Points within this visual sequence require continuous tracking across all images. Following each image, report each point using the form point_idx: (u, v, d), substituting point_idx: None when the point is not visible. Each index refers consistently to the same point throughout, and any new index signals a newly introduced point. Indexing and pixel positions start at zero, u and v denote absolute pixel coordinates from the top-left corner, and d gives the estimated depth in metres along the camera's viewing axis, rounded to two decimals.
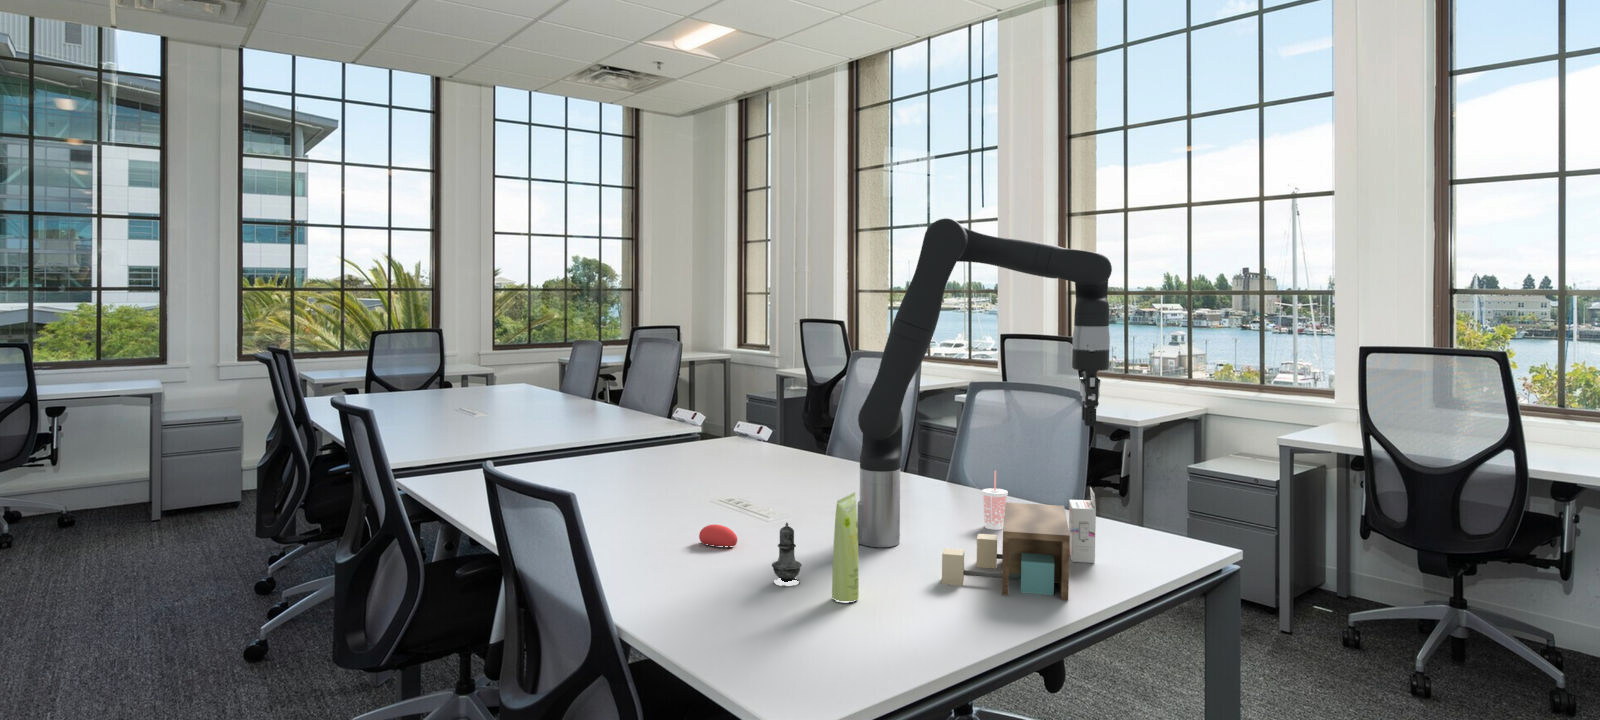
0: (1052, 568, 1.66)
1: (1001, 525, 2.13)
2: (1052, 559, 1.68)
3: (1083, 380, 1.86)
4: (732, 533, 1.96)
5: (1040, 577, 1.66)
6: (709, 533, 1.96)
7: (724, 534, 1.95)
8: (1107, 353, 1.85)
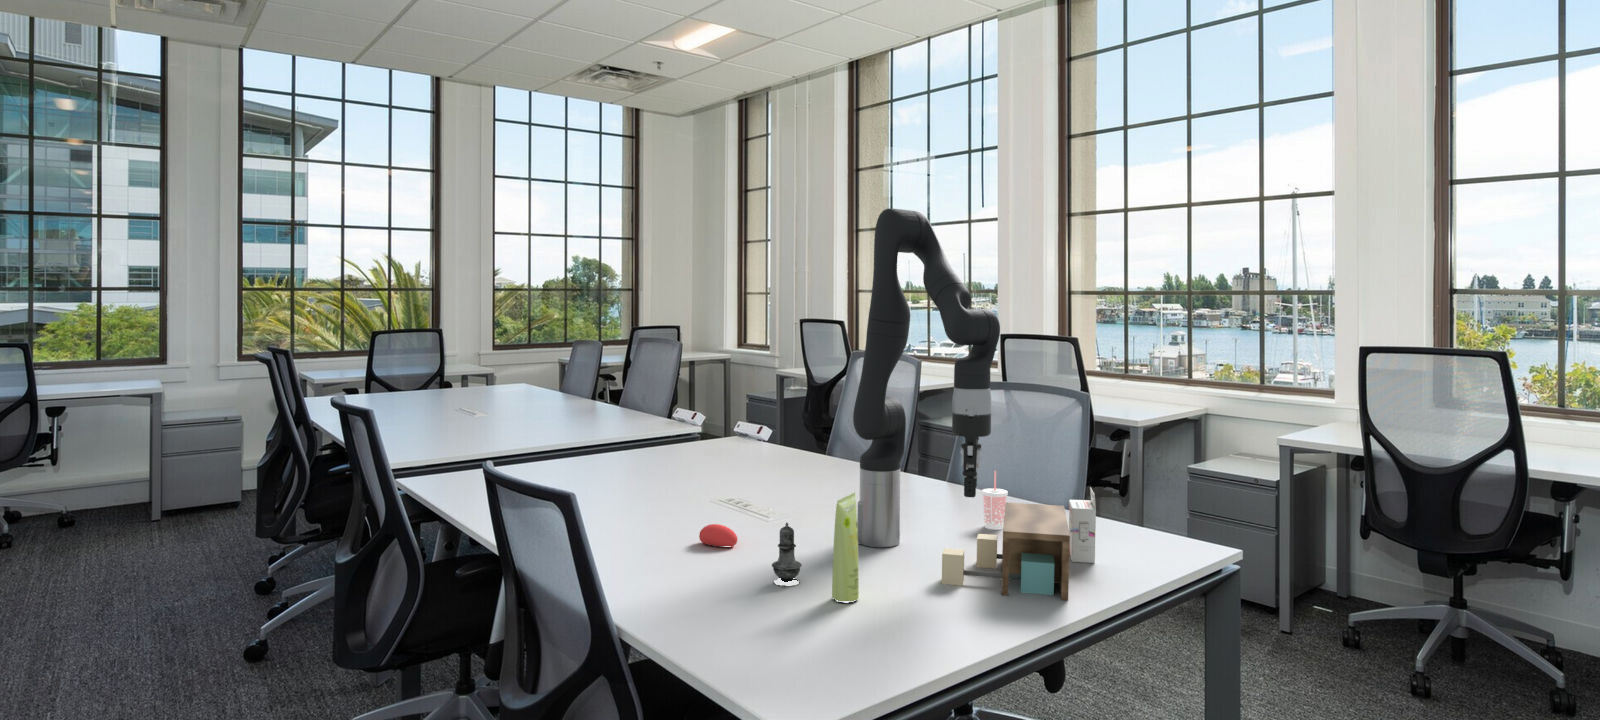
0: (1052, 568, 1.66)
1: (1001, 525, 2.13)
2: (1052, 559, 1.68)
3: (963, 446, 1.72)
4: (732, 533, 1.96)
5: (1040, 577, 1.66)
6: (709, 532, 1.96)
7: (724, 534, 1.95)
8: (988, 418, 1.71)
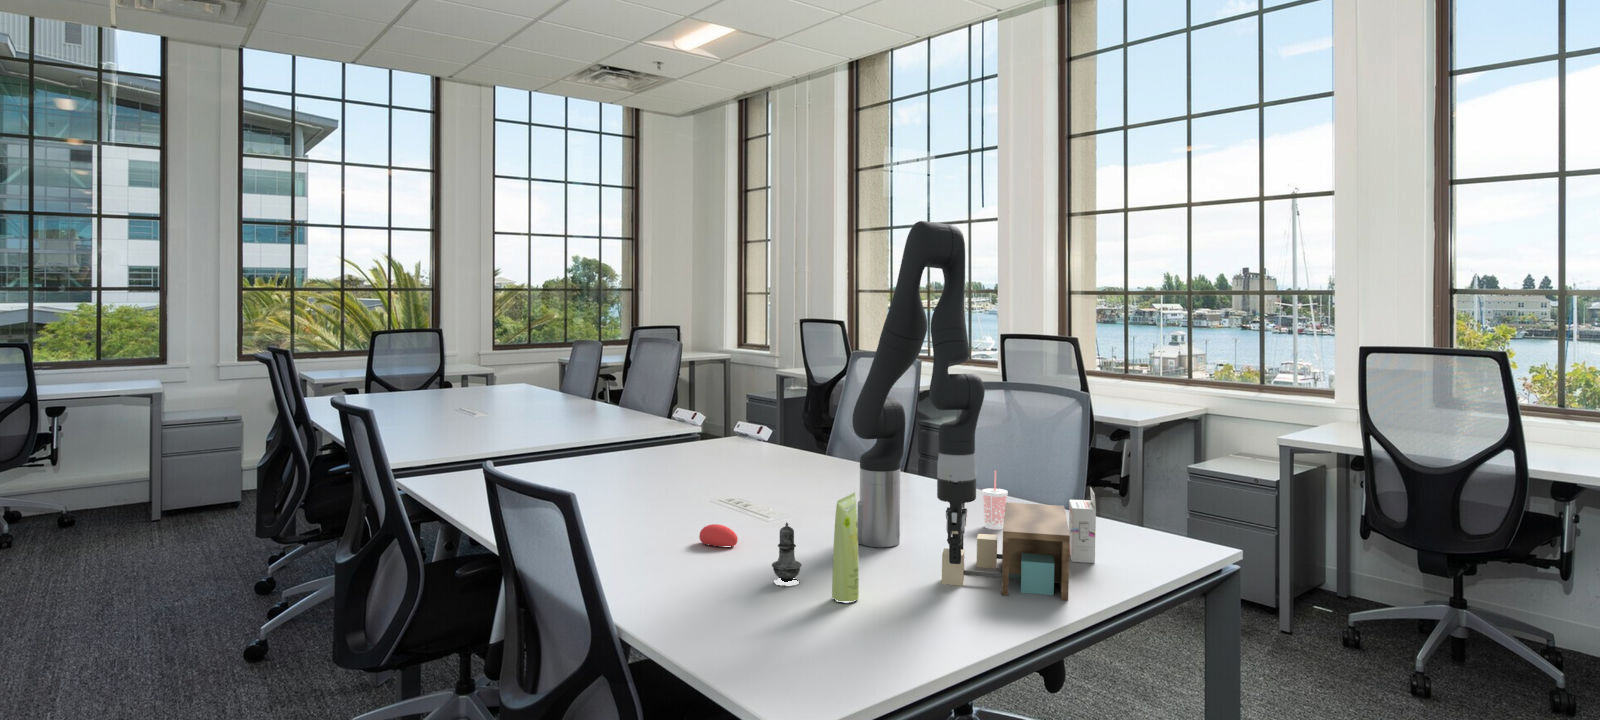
0: (1052, 568, 1.66)
1: (1001, 525, 2.13)
2: (1052, 559, 1.68)
3: (948, 512, 1.71)
4: (732, 533, 1.96)
5: (1040, 577, 1.66)
6: (709, 533, 1.96)
7: (724, 534, 1.95)
8: (972, 483, 1.69)
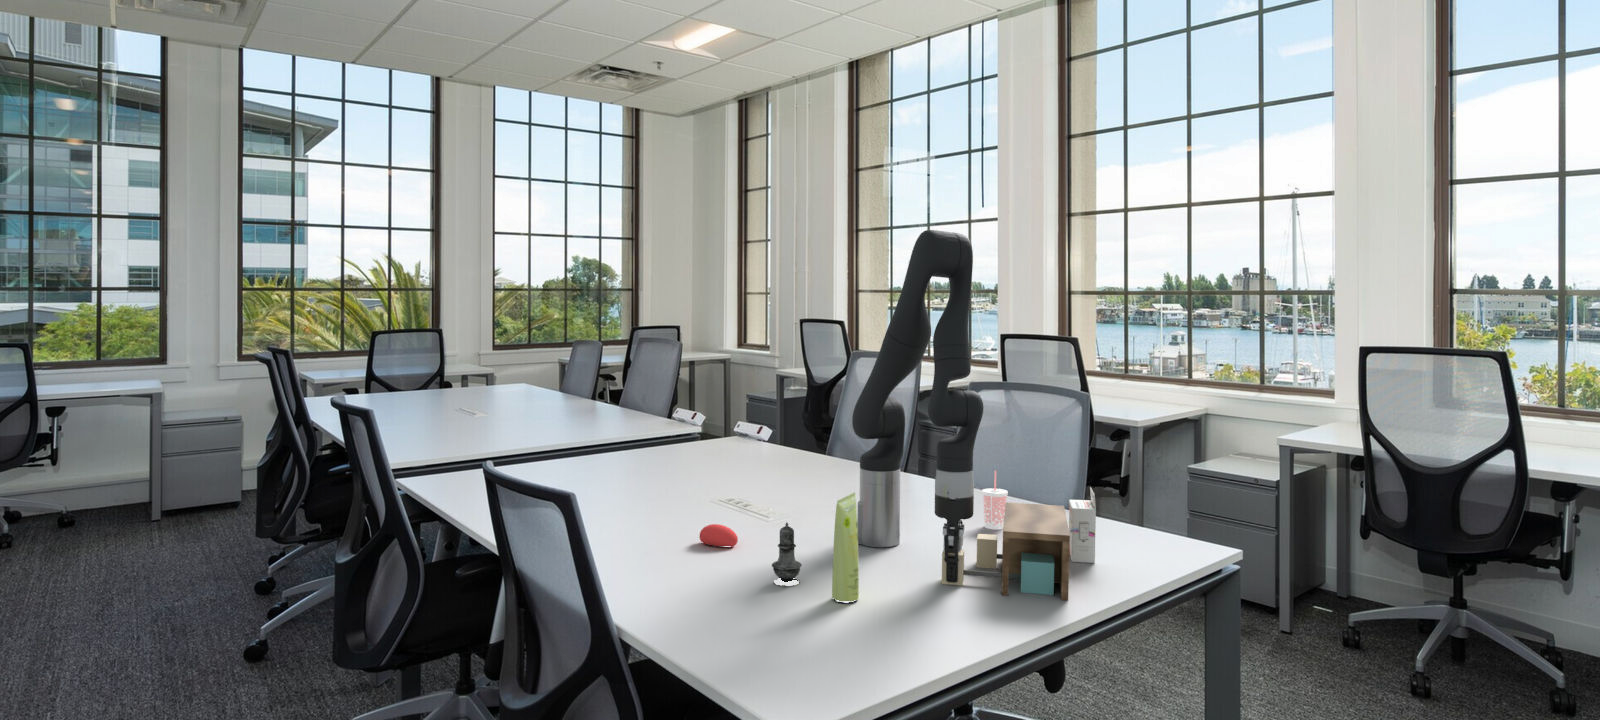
0: (1052, 568, 1.66)
1: (1001, 525, 2.13)
2: (1052, 559, 1.68)
3: (945, 528, 1.71)
4: (732, 533, 1.96)
5: (1040, 577, 1.66)
6: (709, 533, 1.96)
7: (724, 534, 1.95)
8: (970, 500, 1.70)
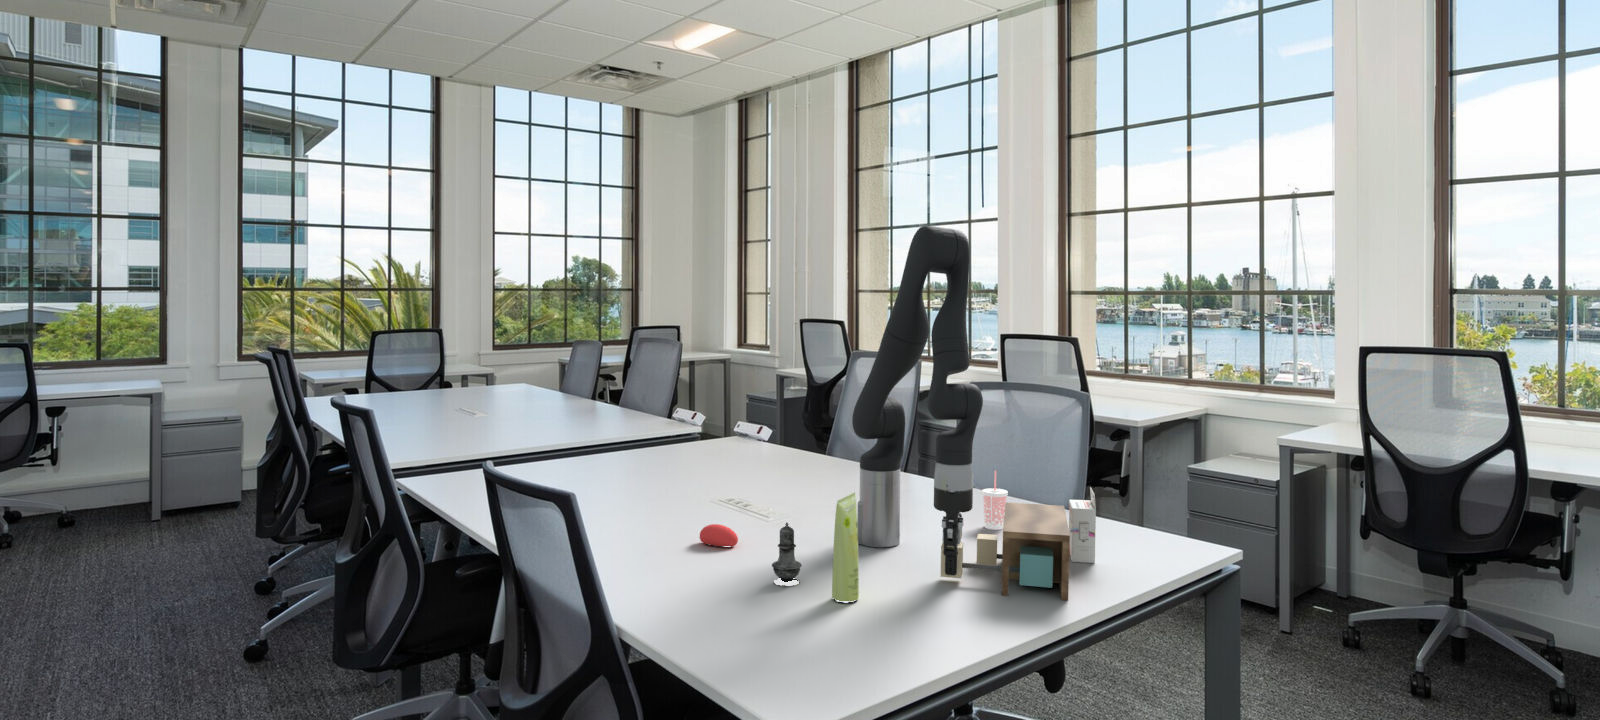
0: (1051, 561, 1.66)
1: (1001, 525, 2.13)
2: (1051, 552, 1.68)
3: (944, 521, 1.71)
4: (733, 533, 1.96)
5: (1039, 570, 1.66)
6: (709, 533, 1.96)
7: (725, 534, 1.95)
8: (969, 493, 1.70)
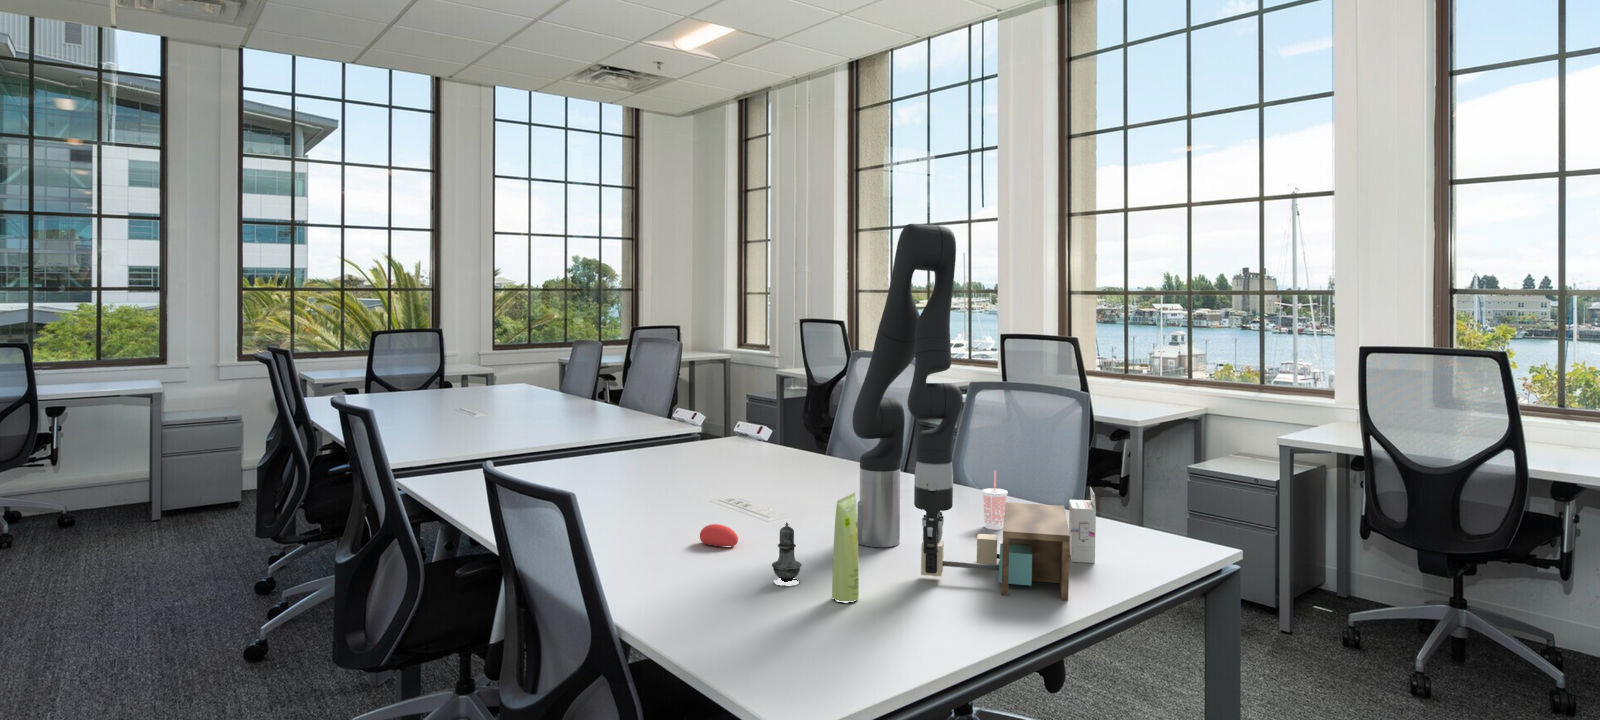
0: (1030, 559, 1.67)
1: (1001, 525, 2.13)
2: (1030, 550, 1.70)
3: (924, 520, 1.72)
4: (733, 533, 1.96)
5: (1018, 568, 1.68)
6: (710, 532, 1.96)
7: (725, 534, 1.95)
8: (949, 492, 1.71)
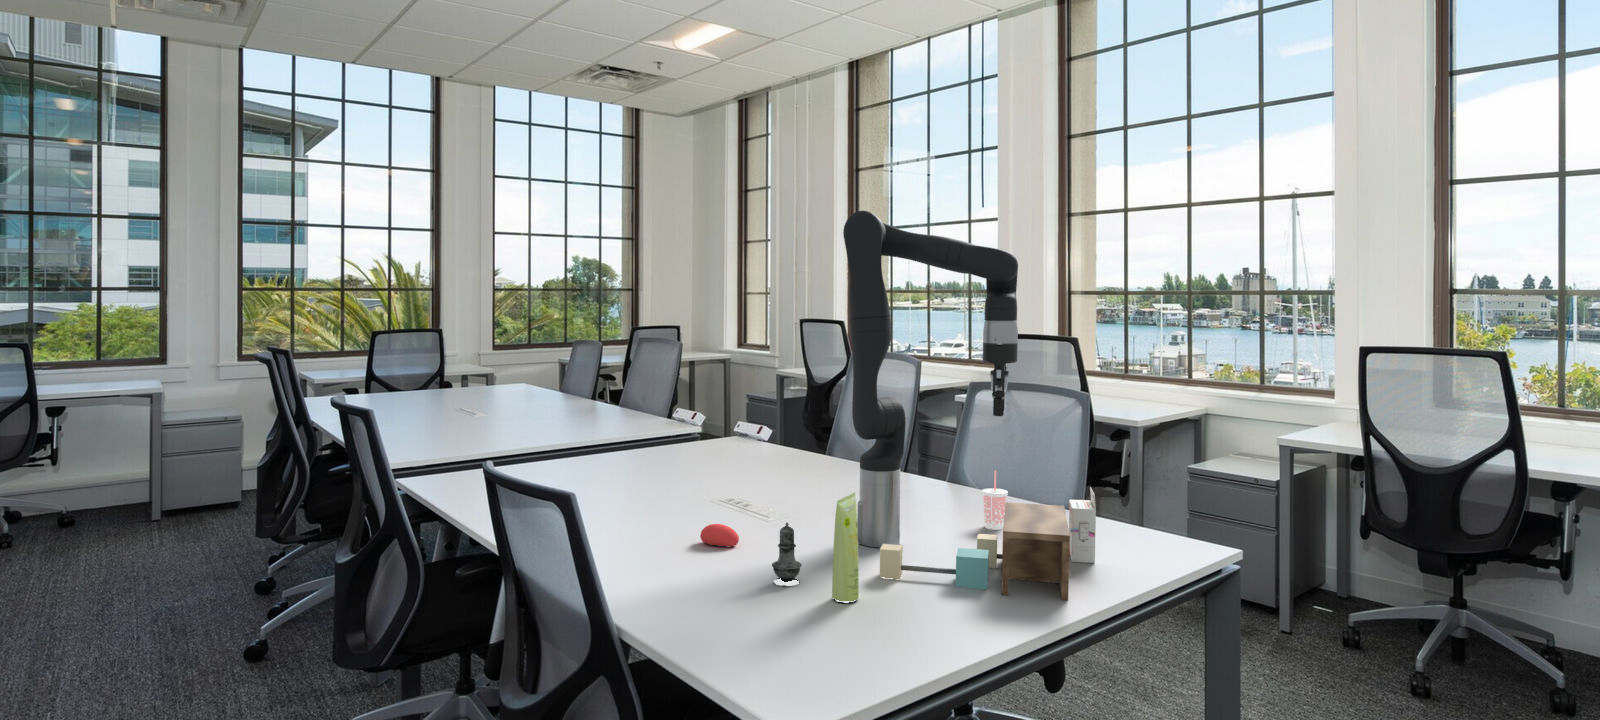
0: (986, 563, 1.69)
1: (1001, 525, 2.13)
2: (986, 554, 1.71)
3: (992, 372, 1.95)
4: (734, 532, 1.97)
5: (974, 572, 1.69)
6: (711, 532, 1.96)
7: (726, 534, 1.96)
8: (1014, 346, 1.93)
